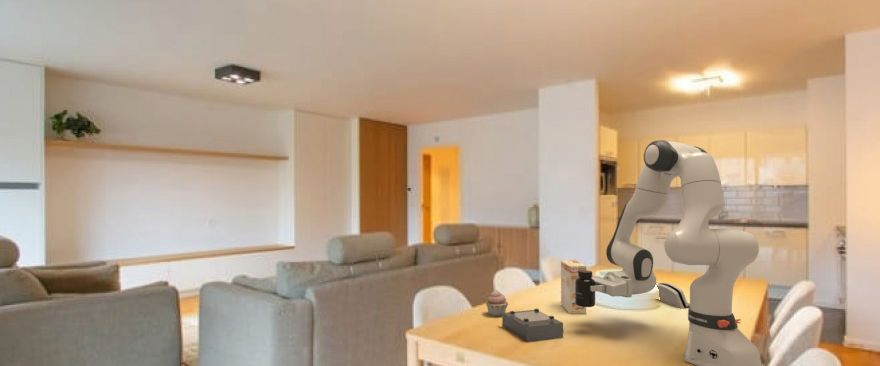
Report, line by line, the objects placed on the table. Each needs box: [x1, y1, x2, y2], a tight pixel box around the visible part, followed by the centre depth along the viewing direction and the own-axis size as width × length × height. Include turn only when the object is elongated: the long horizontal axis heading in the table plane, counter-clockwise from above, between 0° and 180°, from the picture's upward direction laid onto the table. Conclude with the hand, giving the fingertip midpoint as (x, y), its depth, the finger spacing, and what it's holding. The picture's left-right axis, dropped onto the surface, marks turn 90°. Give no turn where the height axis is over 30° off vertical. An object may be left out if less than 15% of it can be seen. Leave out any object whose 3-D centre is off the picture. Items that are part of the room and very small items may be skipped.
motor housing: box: [501, 308, 564, 343], centre depth 169 cm, size 21×14×6 cm, turn 19°
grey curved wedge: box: [656, 282, 690, 309], centre depth 207 cm, size 17×5×10 cm, turn 11°
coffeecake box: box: [560, 259, 587, 315], centre depth 198 cm, size 15×7×20 cm, turn 179°
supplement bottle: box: [575, 269, 596, 308], centre depth 168 cm, size 7×7×12 cm
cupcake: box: [485, 289, 509, 318], centre depth 190 cm, size 9×9×10 cm
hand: (582, 286), depth 167 cm, fingers closed on supplement bottle, 7 cm apart
